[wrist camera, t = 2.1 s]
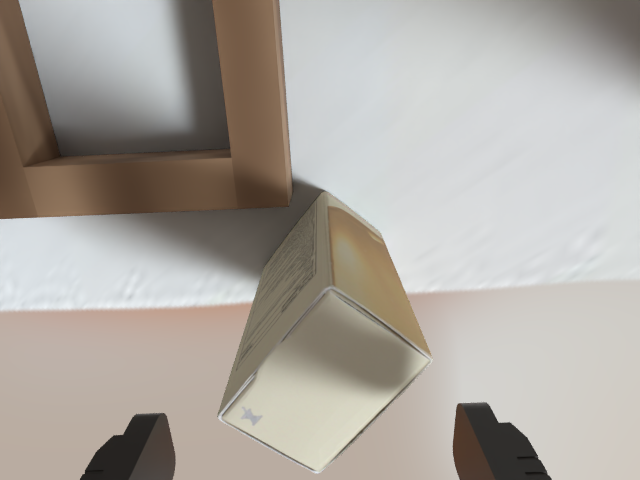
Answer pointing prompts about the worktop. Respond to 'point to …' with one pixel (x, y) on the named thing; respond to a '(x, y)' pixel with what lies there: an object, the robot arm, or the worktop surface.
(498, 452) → the robot arm
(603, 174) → the worktop surface
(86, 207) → the socket block
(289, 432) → the skincare box
